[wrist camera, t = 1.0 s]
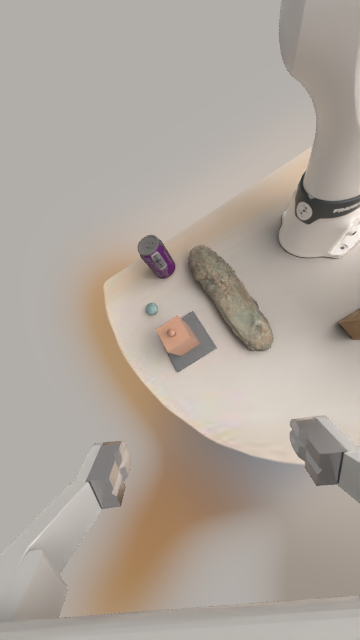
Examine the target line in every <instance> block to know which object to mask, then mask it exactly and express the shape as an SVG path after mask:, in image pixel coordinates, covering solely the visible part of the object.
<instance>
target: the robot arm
mask: <svg viewBox="0 0 360 640" xmlns="http://www.w3.org/2000/svg"><path fill="white" fill-rule="evenodd" d="M279 42H280V49H281V55H282V59H283V61H284V64H285V67H286V69H287V71H288V72H289V73H290V75H291V76H292V77H294V78H295V79H296V80H298V81H299V82H300V83H301V84H302V85H303V86H304V87H305V89H306V90H307V92H308V93H309V95H310V97H311V99H312V102H313V105H314V108H315V112H316V133H315V139H314V143H313V148H312V152H311V156H310V159H309V163H308V166H307V169H306V171H305V172H304V174H303V176H302V178H301V180H300V182H299V184H298V187H297V190H296V191H295V192H294V195H293V197H292V199H291V202H290V204H289V207H288V209H287V210H286V211H284V212H283V215H282V226H281V228H280V230H279V242H280V244H281V246H282V247H283V248H284V249H285V250H286V251H288V252H289V253H291V254H293V255H296V256H300V257H320V256H326V257H331V258H340V257H342V256H343V255H344V254H345V253H346V252H347V251H348V250H349V249H351V248H352V247H353V246H354V245H355V244H356V243H357V242H358V241H359V240H360V0H282V2H281V10H280V19H279ZM340 248H342V249H340ZM290 426H291V428H292V431H291V432H290V441H291V444H292V447H293V449H294V451H295V452H296V454H297V456H298V457H299V458H301V459H302V460H304V461H305V468H306V470H307V472H308V473H309V474H310V476H311V478H312V480H313V481H314V483H315V484H316V486H320V485H335V484H339V485H338V486H340V487H341V488H342V489H343V490H344V491H345V492H347V493H348V494H349V495H351V497H353V498H354V499H355V500H357V501H358V502H359V503H360V449H359V448H358V447H357V446H356V445H355V444H354V443H353V442H352V441H351V440H350V439H349V438H348V437H347V436H346V435H345V434H344V433H343V432H342V431H341V430H340V429H339V428H338V427H337V426H336V425H335V424H334V423H333V422H332V421H331V420H330V419H329V418H328V417H327V416H325V415H324V416H316V417H306V418H299V419H292V420H291V421H290ZM126 446H127V445H126V443H125V441H115V442H105V443H95V444H93V445H92V447H91V448H90V450H89V452H88V454H87V456H86V458H85V460H84V462H83V464H82V466H81V468H80V470H79V472H78V474H77V476H76V478H75V480H74V482H73V483H70V484H69V485H68V486H67V487H66V488H65V489H64V490H63V491H62V492H61V493H60V494H59V495H58V496H57V497H56V498H55V499H54V500H53V501H52V502H51V503H50V504H49V505H48V506H47V507H46V508H45V509H44V510H43V511H42V512H41V513H40V514H39V515H38V516H37V517H36V519H34V521H32V522H31V523H30V524H29V525H28V526H27V527H26V528H25V529H24V530H23V532H21V534H20V535H18V537H17V538H15V539H14V540H13V541H12V543H11V544H10V545H9V546H8V547H7V548H6V549H5V550H4V551H3V552H2V553H1V555H0V640H360V595H356V596H344V597H343V596H342V597H328V598H315V599H303V600H289V601H277V602H262V603H249V604H236V605H223V606H209V607H197V608H183V609H171V610H157V611H143V612H132V613H131V612H130V613H118V614H104V615H90V616H77V617H64V618H59V615H60V612H61V609H62V606H63V603H64V600H65V597H66V594H67V591H68V589H67V584H66V583H65V582H64V580H63V579H62V577H61V576H60V573H61V571H62V570H63V568H64V567H65V565H66V564H67V562H68V561H69V559H70V558H71V556H72V555H73V553H74V552H75V550H76V549H77V547H78V546H79V544H80V543H81V541H82V540H83V538H84V537H85V535H86V534H87V532H88V531H89V529H90V528H91V526H92V524H93V523H94V521H95V520H96V518H97V517H98V516H99V514H100V512H101V511H102V510H101V509H105V508H112V507H119V506H121V503H122V499H123V495H124V491H125V484H124V481H125V479H126V478H127V477H128V475H129V471H130V462H131V460H130V454H129V452H128V451H127V450H125V449H126Z"/></svg>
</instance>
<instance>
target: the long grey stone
mask: <svg viewBox="0 0 360 640" xmlns="http://www.w3.org/2000/svg"><path fill="white" fill-rule="evenodd" d="M188 260H189V268H190V269H191V270H192V271H193V273H194V278H195V280H196V281H198V282H199V283H200V284H201V287H202V288H203V289H204V290H205V292H206V293H207V294H208V295H209V297H210V298H211V299H212V300H213V302H214V304H215V305H216V307H217V309H218V311H219V312H220V314H221V316H222V317H223V319H224V320H225V322H227V324H228V325H229V326H230V327H231V329H232V331H233V332H234V334H235V335H236V336H238V337H239V339H240V340H241V341H242V342H243V343H244V344H245V345H246V346H247V347H248V349H249V350H251V351H254V350H256V351H264V350H267V349H269V348H271V345H272V342H273V335H272V330H271V328H270V326H269V323H268V321H267V319H266V318H265V317H264V316H263V314H262V313H261V311H260V310H259V308H258V305H257V302H256V301H254V299H252V297H250V296H249V294H248V292H247V291H246V289H245V287H244V285H243V284H242V283H241V282H240V281H239V279H238V278H237V275H235V273H234V271H233V270H232V268H231V267H230V266H229V265H228V264H227V263H225V261H224V260H223V259H222V258H221V257H219V256H218V255H217V254H216V252H213V251H212V250H211V249H210V248H208V247H206V246H202V245H200V246H196V247H195V248H193V249H192V251H191V252H190V257H189V259H188Z"/></svg>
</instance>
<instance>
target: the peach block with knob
mask: <svg viewBox="0 0 360 640" xmlns="http://www.w3.org/2000/svg"><path fill="white" fill-rule="evenodd" d="M156 331H157V333H158V335H159V337H160V339H161V341H162V343H163V345H164V347H165V349H166V351H167V352H168V353H172V354H175V355H179V356H182V355H184V354H185V353H187V352H189V351H190V350H192V349H193V348H195V347H196V346H198V345H200V343H199V341H198V339H197V338H196V336H195V334H194V333H193V331H192V329H191V328H190V326H189V325H188V324H187V323H186V322H185V321H183V320H182V319H181V318H180V317H179V316H178V315H177V316H176V317H174V318H173V319H171V320H170V321H168V322H167V323H165V324H164V325H162V326H161V327H159V328H158V329H156Z"/></svg>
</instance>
